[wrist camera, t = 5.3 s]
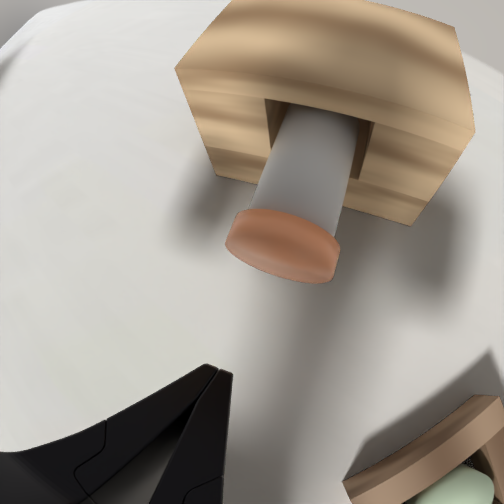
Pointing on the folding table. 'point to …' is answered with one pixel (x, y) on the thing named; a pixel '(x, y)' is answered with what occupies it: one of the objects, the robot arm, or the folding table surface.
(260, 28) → the wooden box
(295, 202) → the plunger
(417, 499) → the table button
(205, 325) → the folding table surface
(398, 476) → the button housing
